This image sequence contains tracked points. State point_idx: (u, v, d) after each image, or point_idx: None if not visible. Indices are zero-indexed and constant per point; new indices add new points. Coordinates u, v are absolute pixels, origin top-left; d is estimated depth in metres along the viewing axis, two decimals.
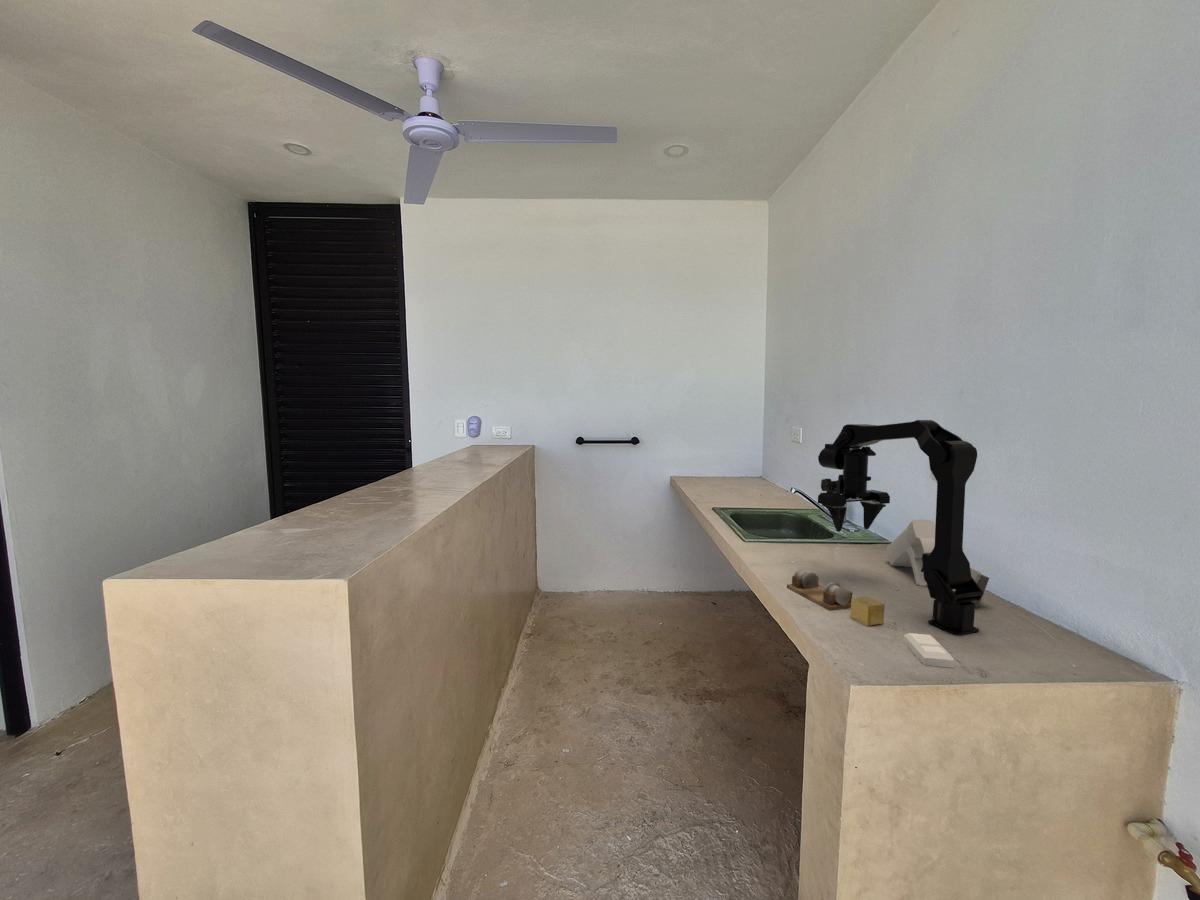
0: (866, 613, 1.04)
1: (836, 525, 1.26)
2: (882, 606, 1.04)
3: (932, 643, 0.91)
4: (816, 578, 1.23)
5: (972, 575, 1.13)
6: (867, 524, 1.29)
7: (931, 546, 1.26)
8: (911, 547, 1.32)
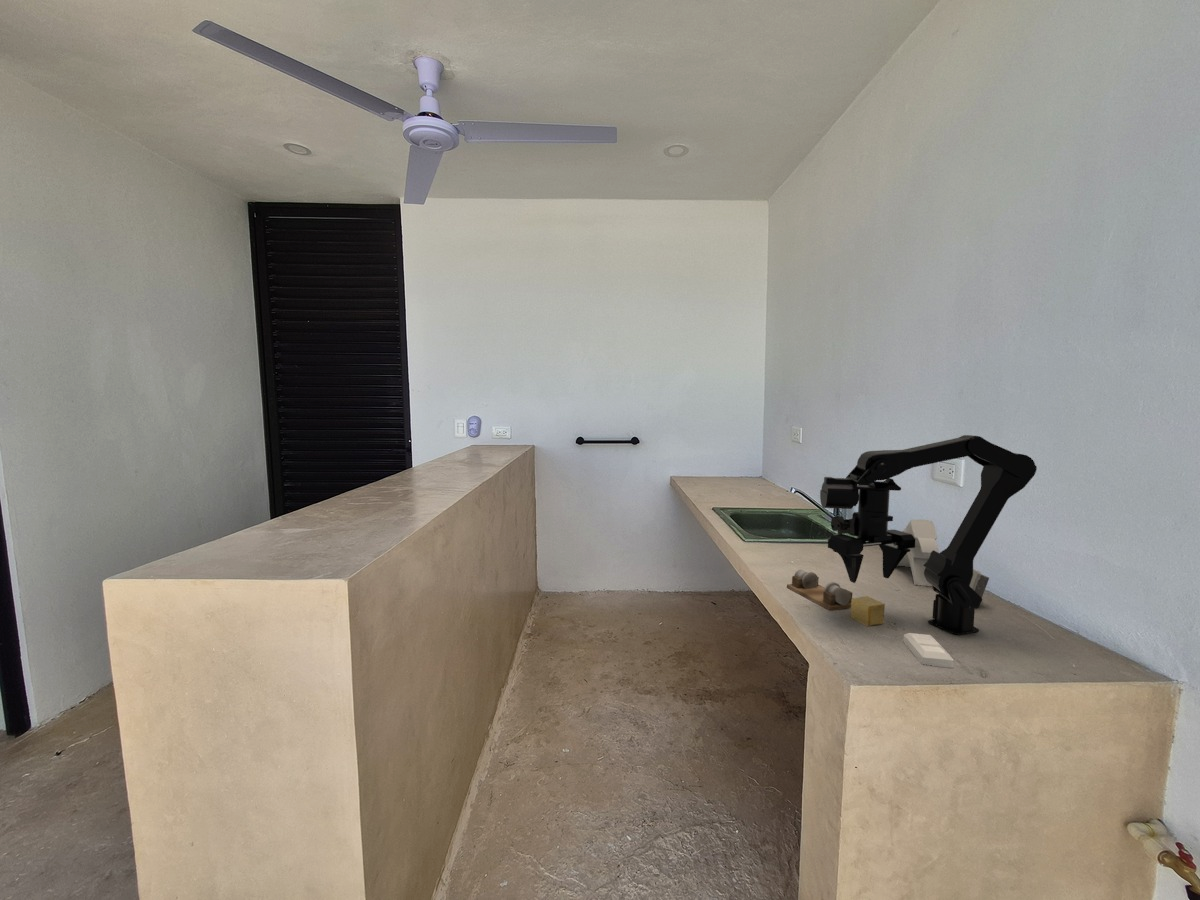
0: (866, 613, 1.04)
1: (850, 575, 1.04)
2: (882, 606, 1.04)
3: (931, 643, 0.91)
4: (816, 578, 1.23)
5: None
6: (887, 572, 1.06)
7: (929, 546, 1.26)
8: None
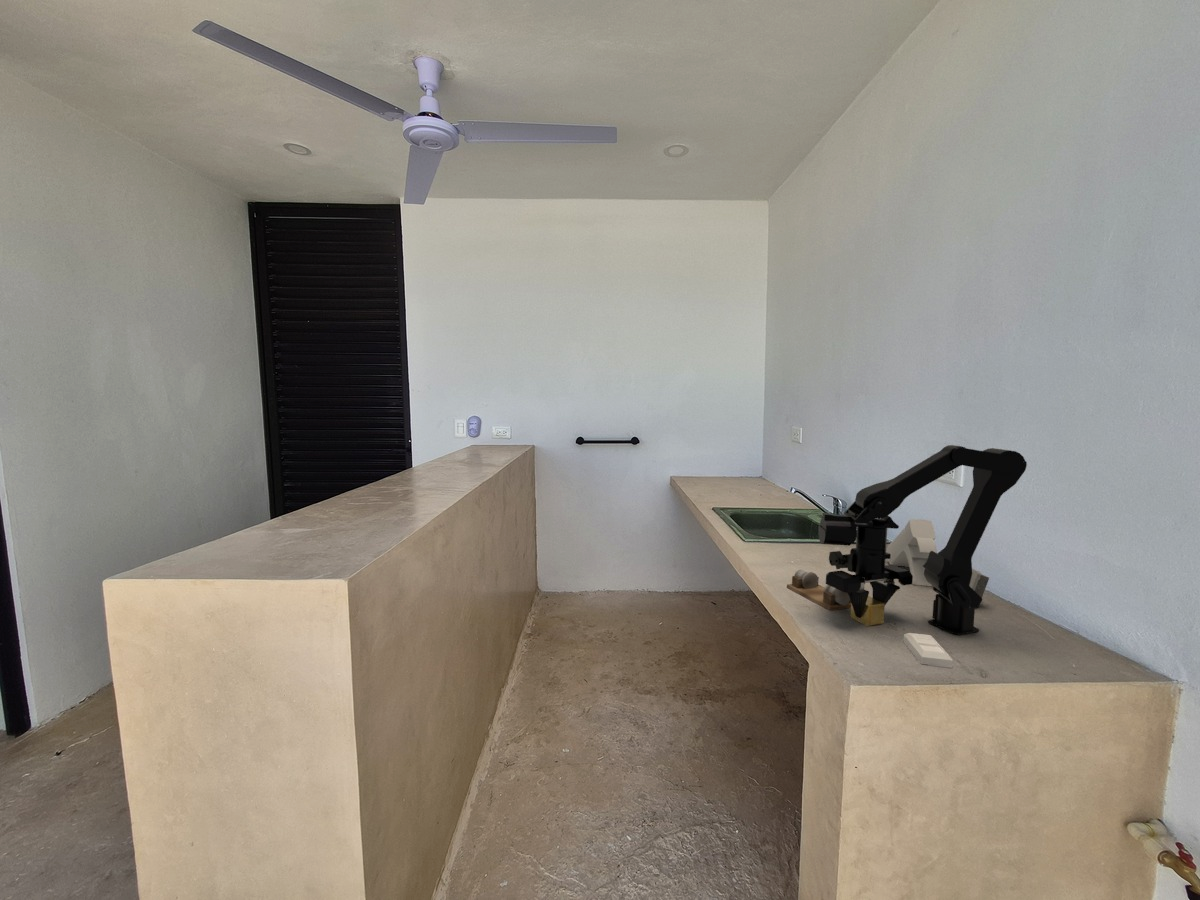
0: (866, 613, 1.04)
1: (856, 610, 1.05)
2: (882, 606, 1.04)
3: (931, 643, 0.91)
4: (816, 578, 1.23)
5: (972, 575, 1.13)
6: None
7: (927, 546, 1.26)
8: (908, 547, 1.32)
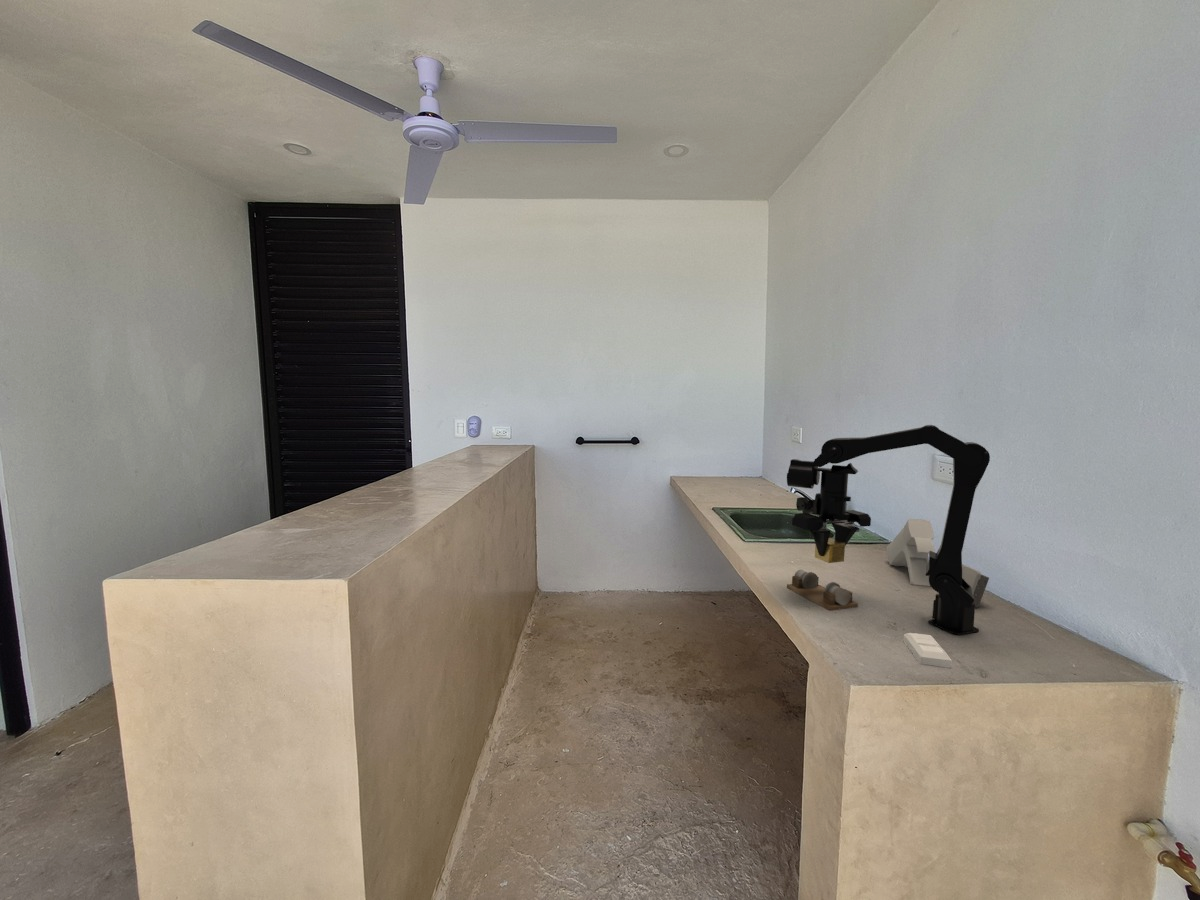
0: (828, 551, 1.13)
1: (819, 549, 1.15)
2: (843, 545, 1.14)
3: (930, 643, 0.91)
4: (816, 578, 1.23)
5: (972, 575, 1.13)
6: None
7: (925, 546, 1.26)
8: (907, 547, 1.32)
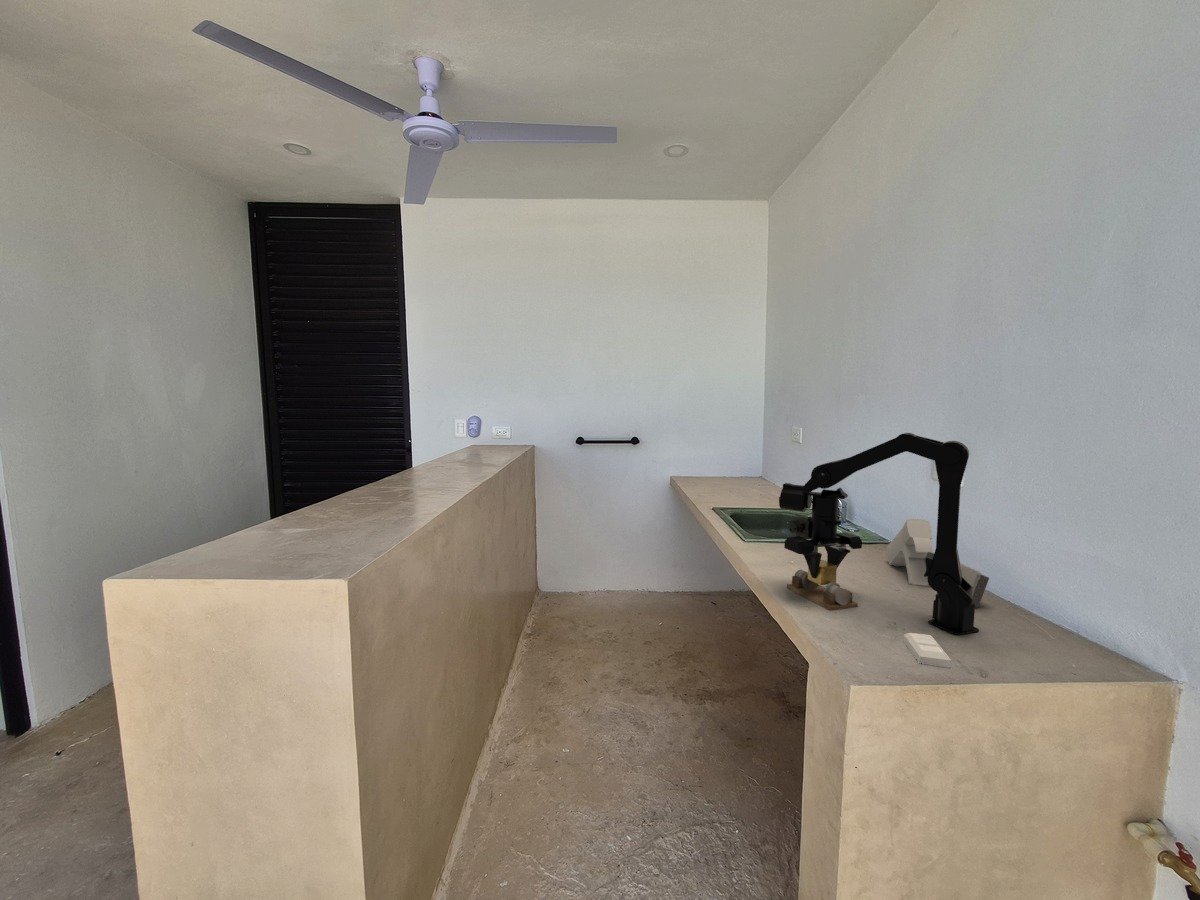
0: (820, 573, 1.17)
1: (811, 571, 1.18)
2: (834, 567, 1.17)
3: (930, 643, 0.91)
4: None
5: (972, 575, 1.13)
6: None
7: (924, 545, 1.26)
8: (906, 546, 1.33)
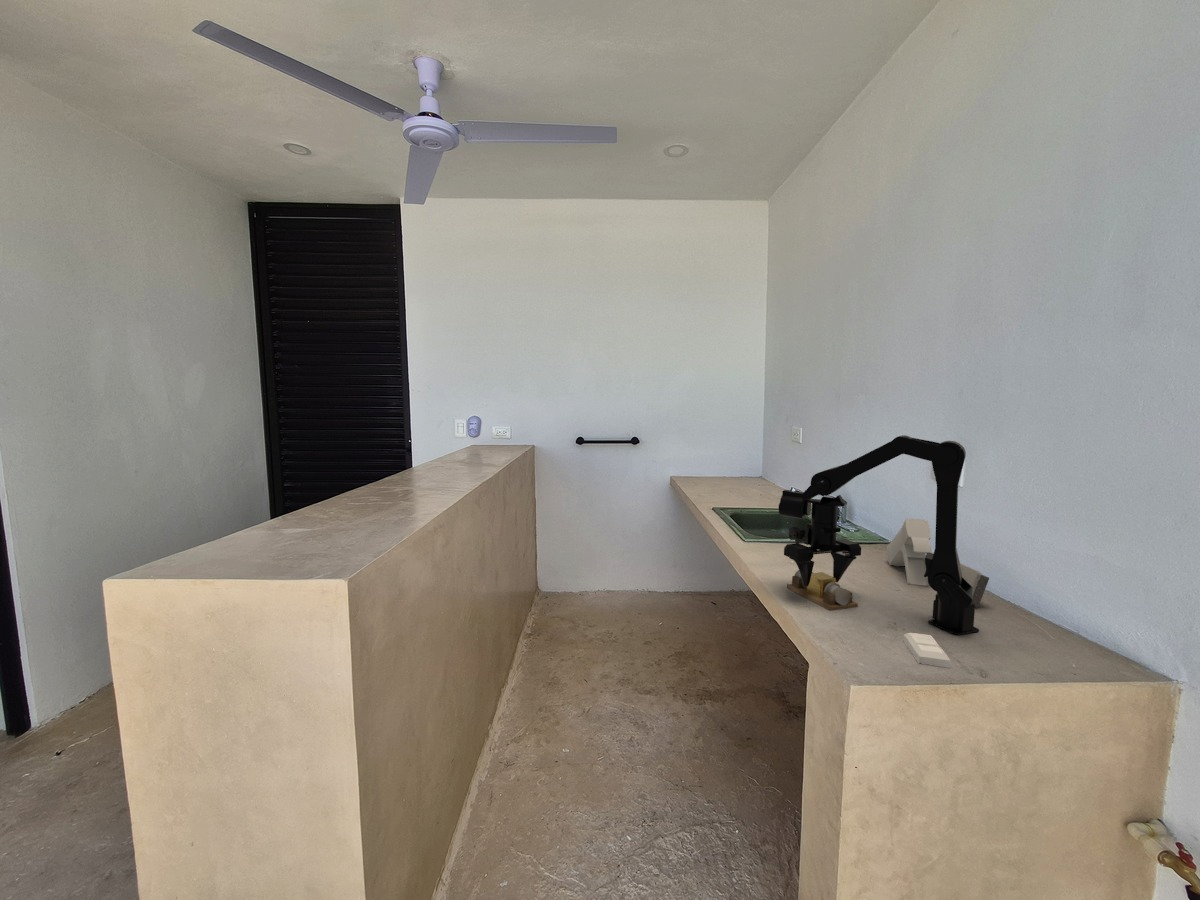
0: (819, 586, 1.17)
1: (804, 579, 1.18)
2: (833, 580, 1.17)
3: (930, 643, 0.91)
4: None
5: (972, 575, 1.13)
6: (837, 577, 1.20)
7: (922, 545, 1.26)
8: (905, 546, 1.33)
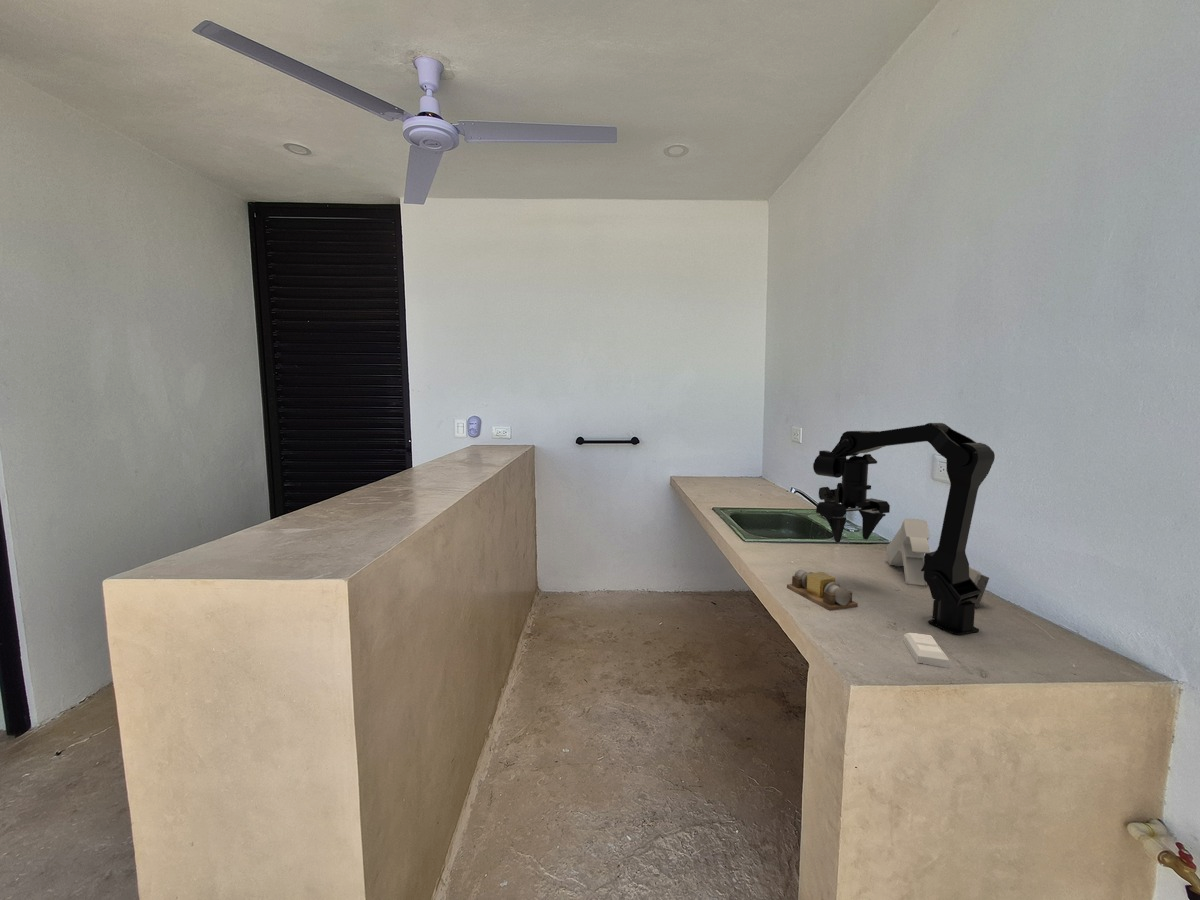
0: (819, 586, 1.17)
1: (835, 536, 1.22)
2: (833, 580, 1.17)
3: (929, 643, 0.91)
4: None
5: (972, 575, 1.13)
6: (866, 534, 1.24)
7: (920, 545, 1.27)
8: (903, 546, 1.33)
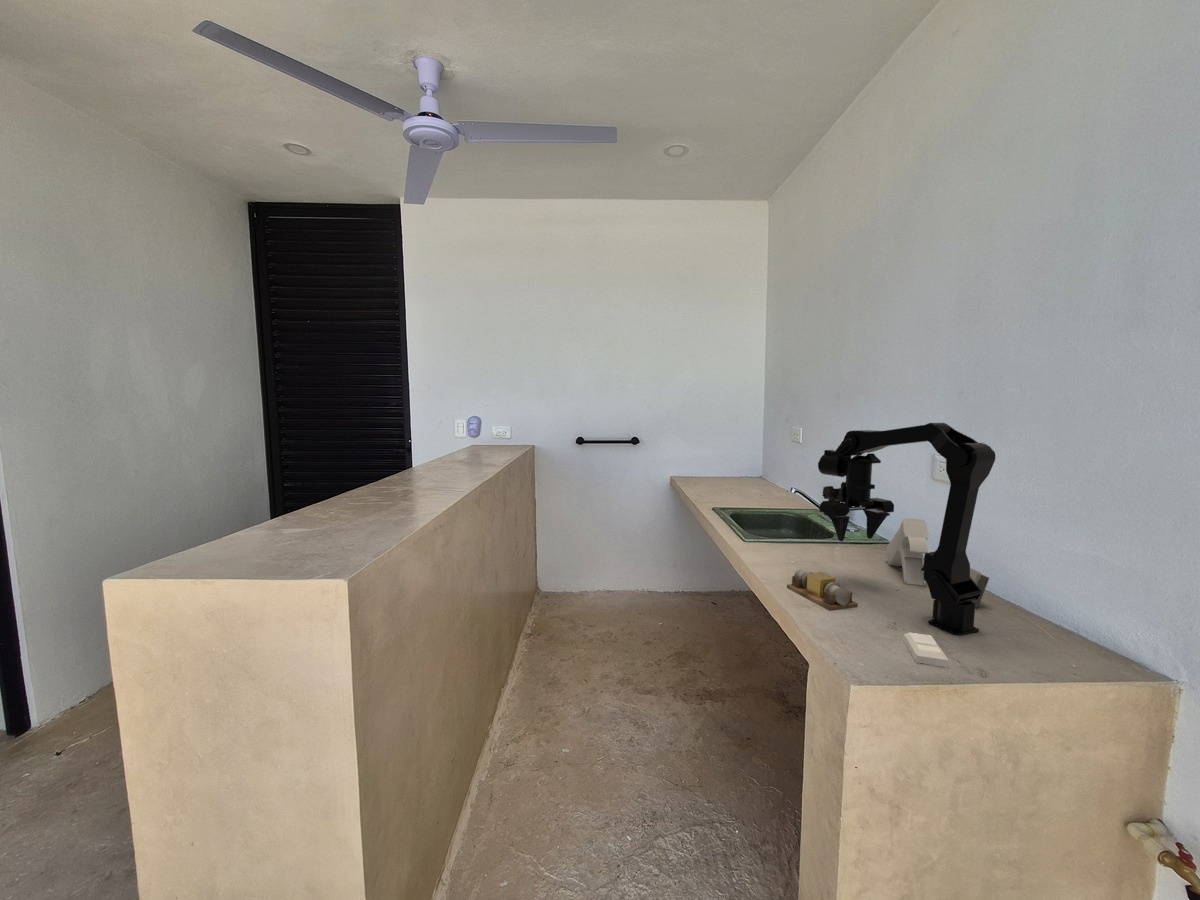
0: (819, 586, 1.17)
1: (838, 534, 1.22)
2: (833, 580, 1.17)
3: (929, 643, 0.91)
4: None
5: (972, 575, 1.13)
6: (870, 533, 1.25)
7: (918, 545, 1.27)
8: (902, 546, 1.33)
